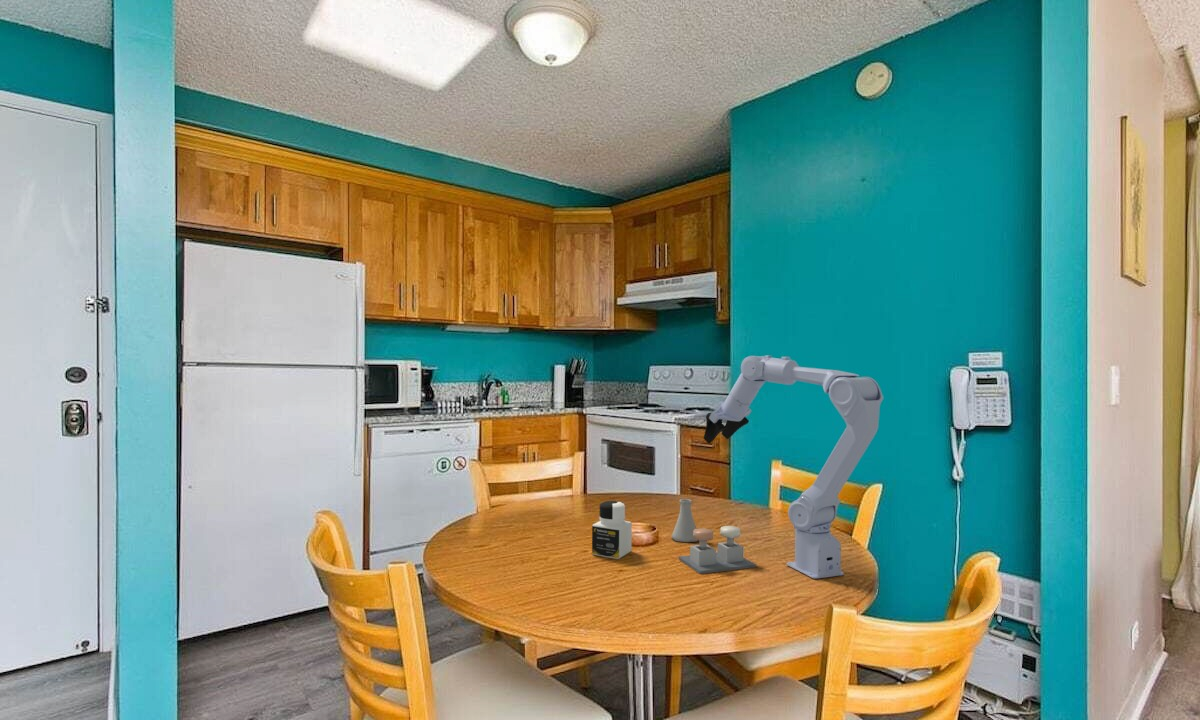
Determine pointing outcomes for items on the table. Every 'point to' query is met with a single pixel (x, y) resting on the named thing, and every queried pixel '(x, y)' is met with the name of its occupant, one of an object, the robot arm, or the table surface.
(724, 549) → the knob mount
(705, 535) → the terracotta knob
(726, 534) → the cream knob
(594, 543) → the medicine bottle
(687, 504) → the flask
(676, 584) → the table surface
